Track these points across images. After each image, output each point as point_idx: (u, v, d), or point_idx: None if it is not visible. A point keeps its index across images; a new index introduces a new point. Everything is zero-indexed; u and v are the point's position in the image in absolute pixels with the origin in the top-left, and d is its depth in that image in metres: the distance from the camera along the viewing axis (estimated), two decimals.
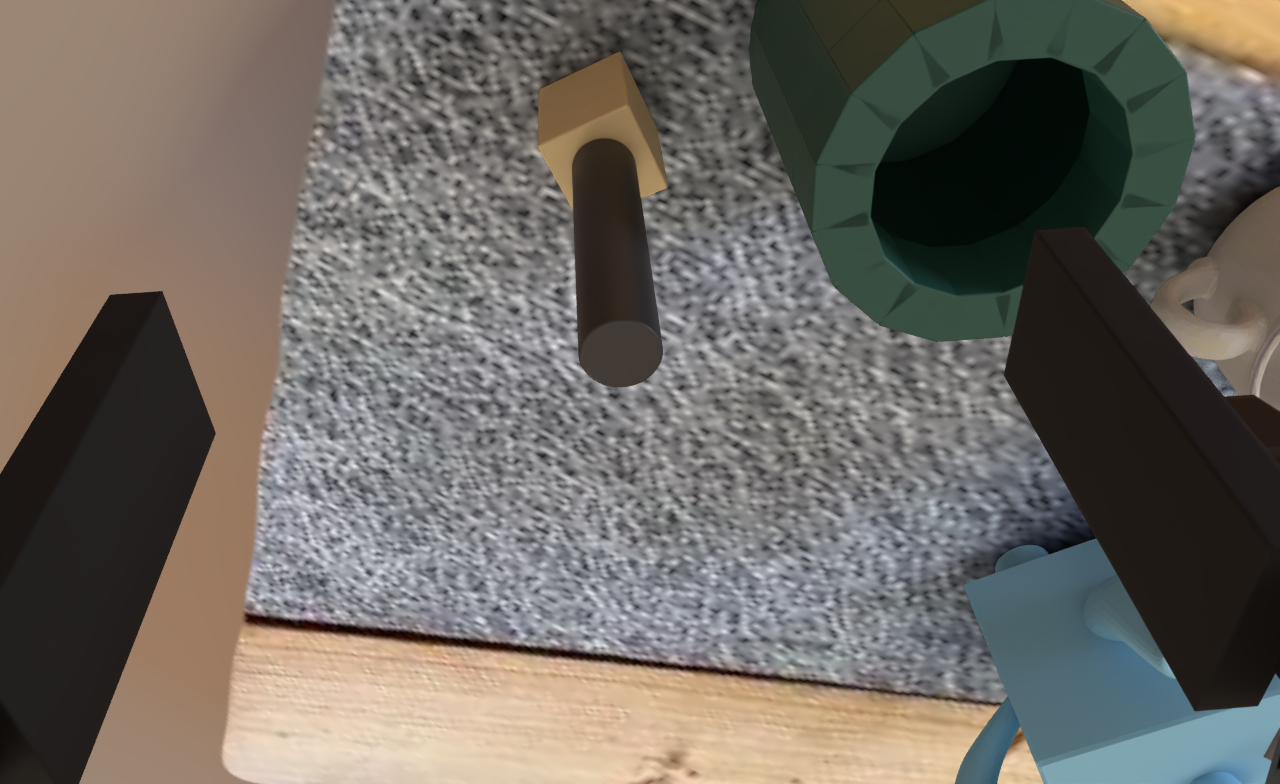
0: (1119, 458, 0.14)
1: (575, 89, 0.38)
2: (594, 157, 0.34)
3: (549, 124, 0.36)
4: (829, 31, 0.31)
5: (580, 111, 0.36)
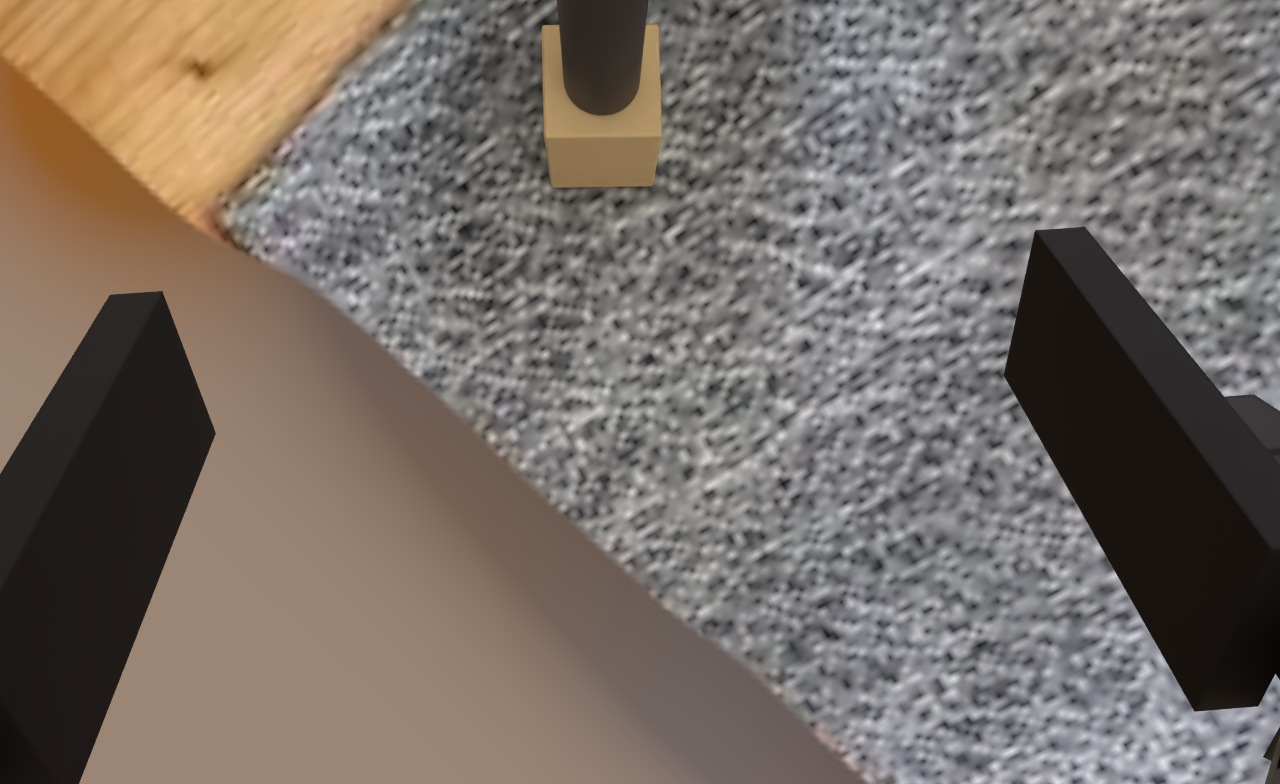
0: (1119, 459, 0.14)
1: None
2: None
3: None
4: None
5: None
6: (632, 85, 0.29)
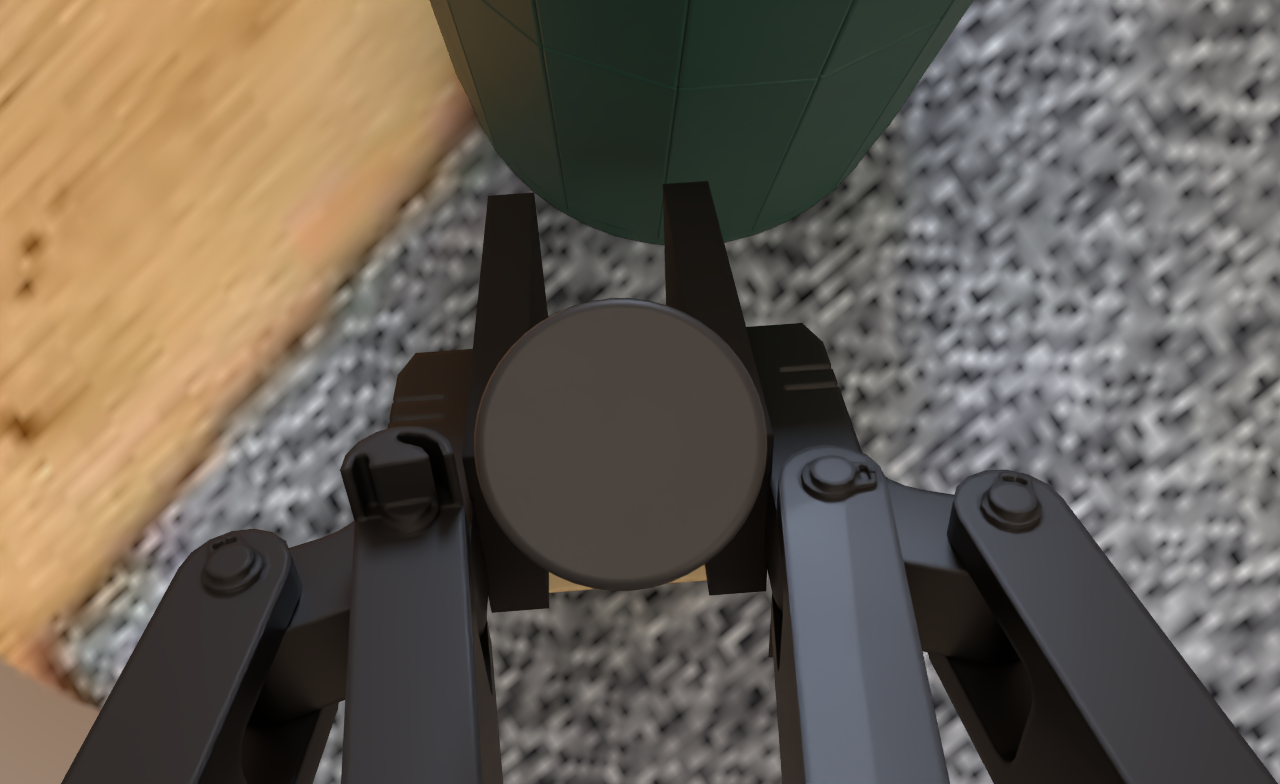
0: None
1: None
2: None
3: None
4: None
5: None
6: None
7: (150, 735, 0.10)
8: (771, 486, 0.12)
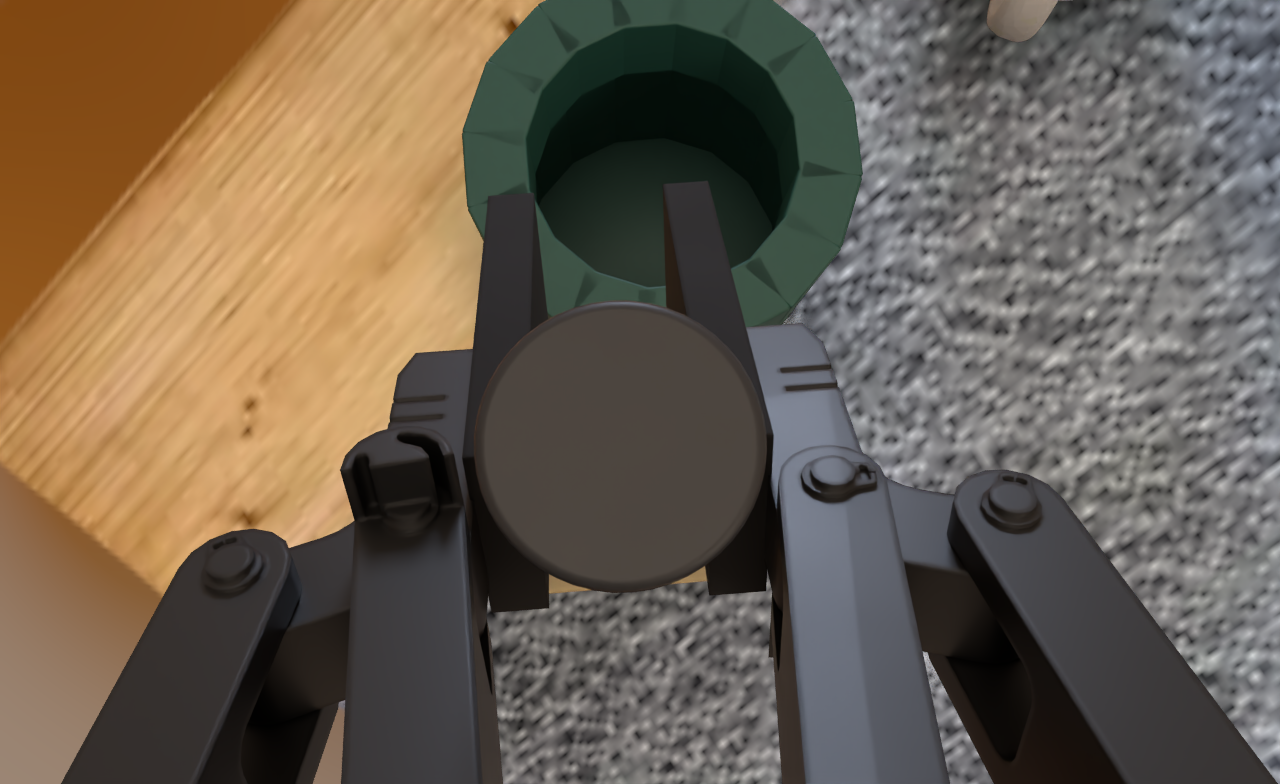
0: None
1: None
2: None
3: None
4: None
5: None
6: None
7: (150, 735, 0.10)
8: (771, 486, 0.12)
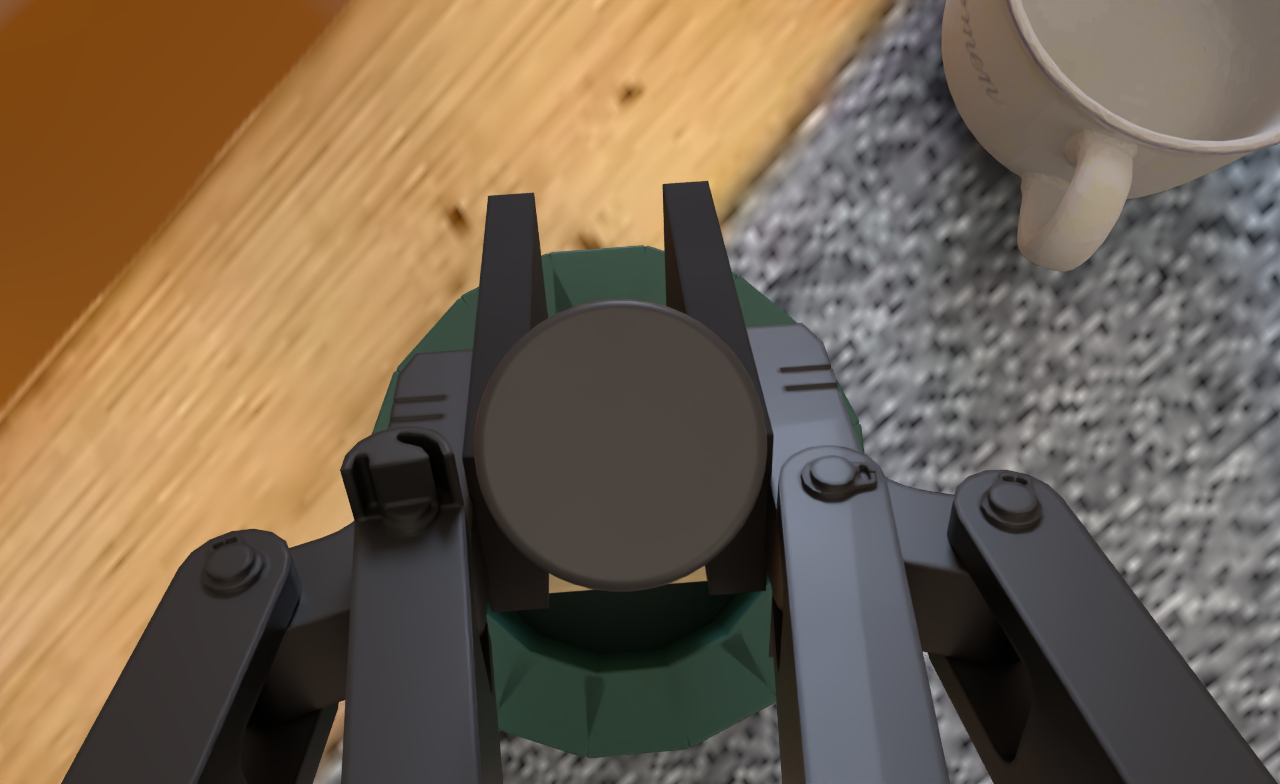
0: None
1: None
2: None
3: None
4: None
5: None
6: None
7: (150, 735, 0.10)
8: (771, 486, 0.12)
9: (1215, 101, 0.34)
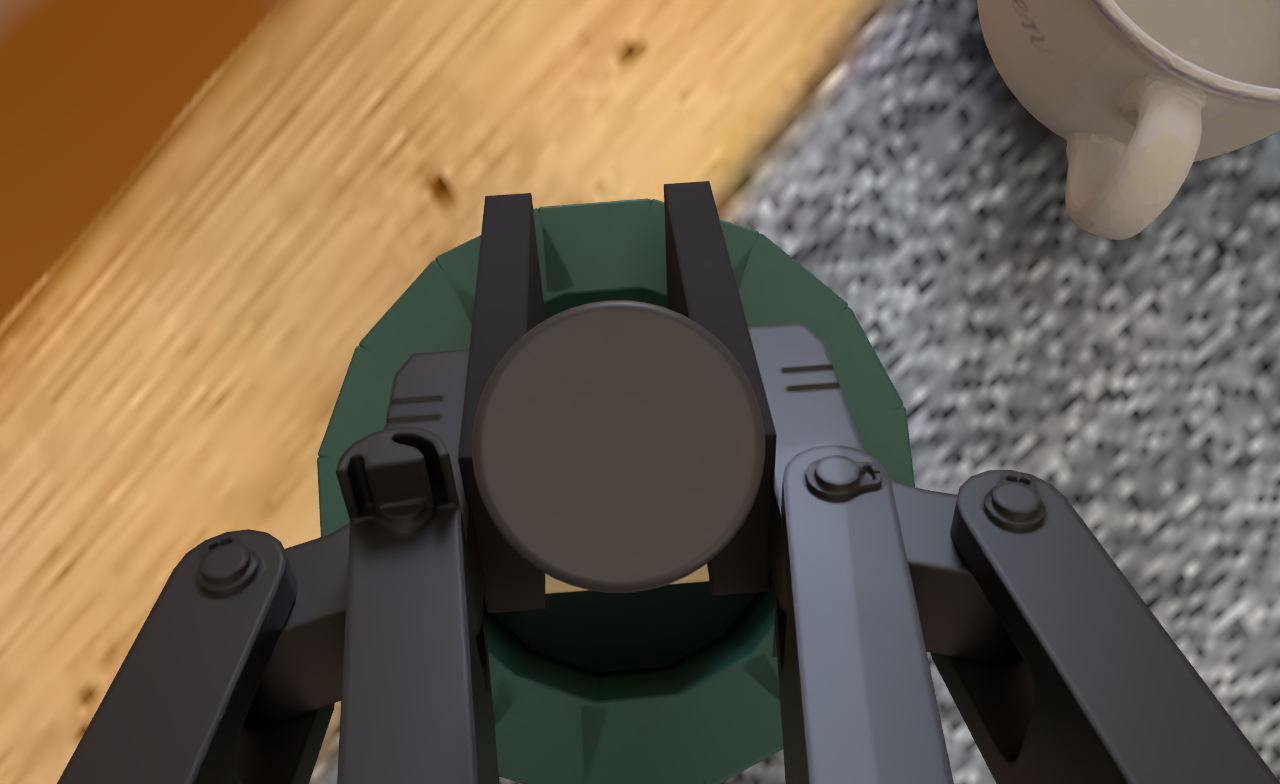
0: None
1: None
2: None
3: None
4: None
5: None
6: None
7: (145, 736, 0.10)
8: (774, 486, 0.12)
9: (1279, 55, 0.31)
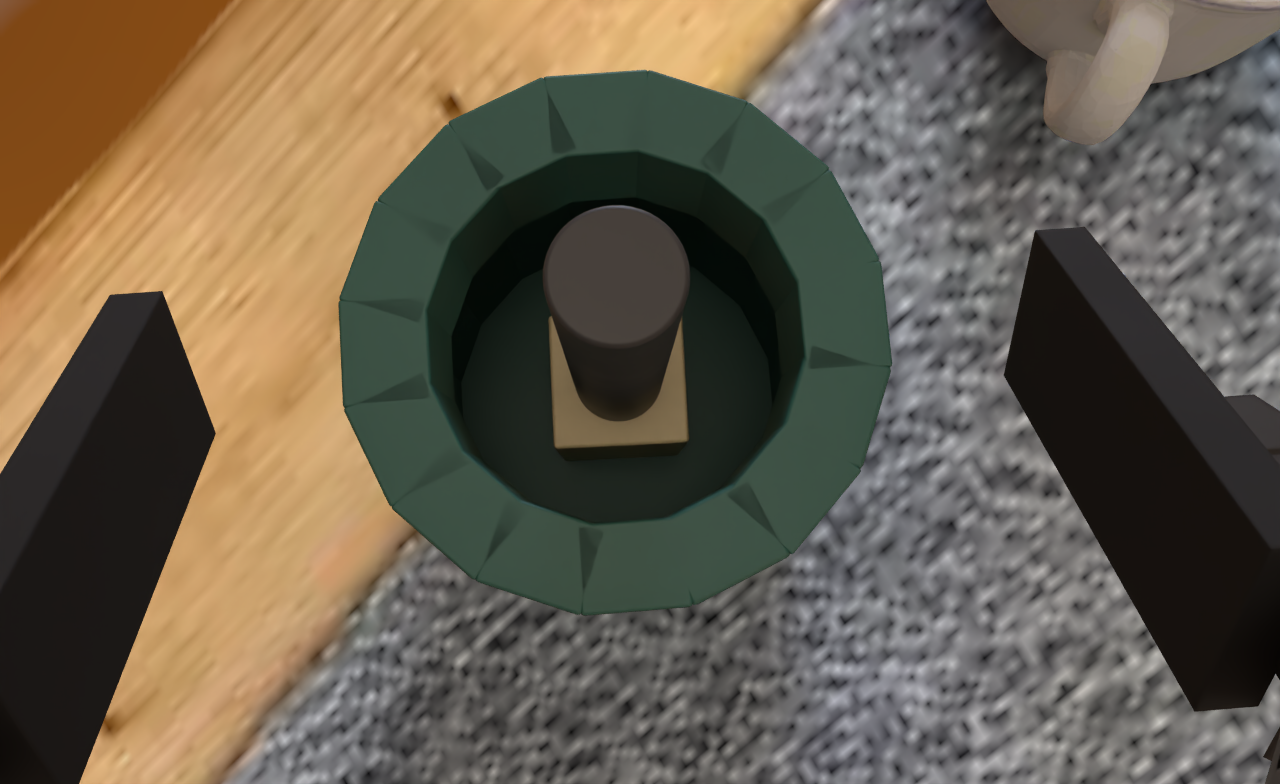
0: (1120, 459, 0.14)
1: None
2: None
3: None
4: None
5: None
6: (654, 398, 0.25)
7: None
8: None
9: None
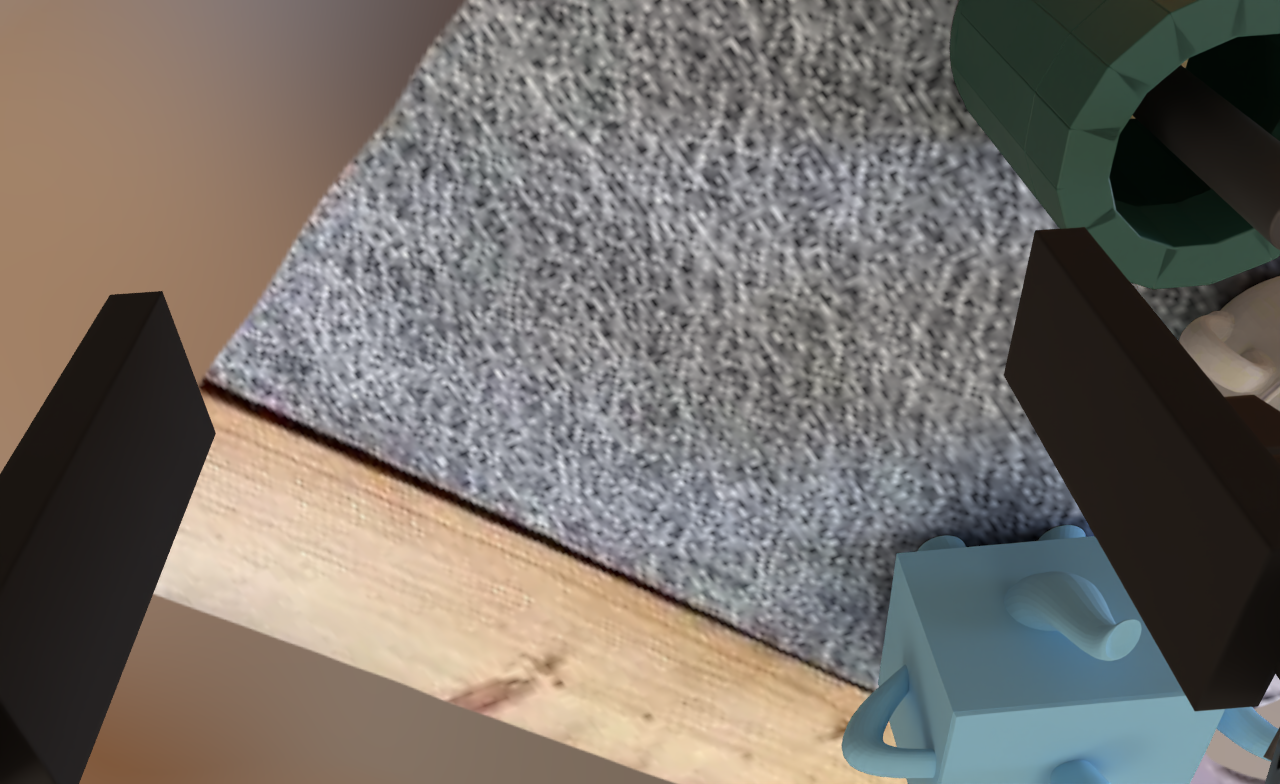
0: (1119, 459, 0.14)
1: None
2: None
3: None
4: None
5: None
6: None
7: None
8: None
9: None
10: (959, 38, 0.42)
